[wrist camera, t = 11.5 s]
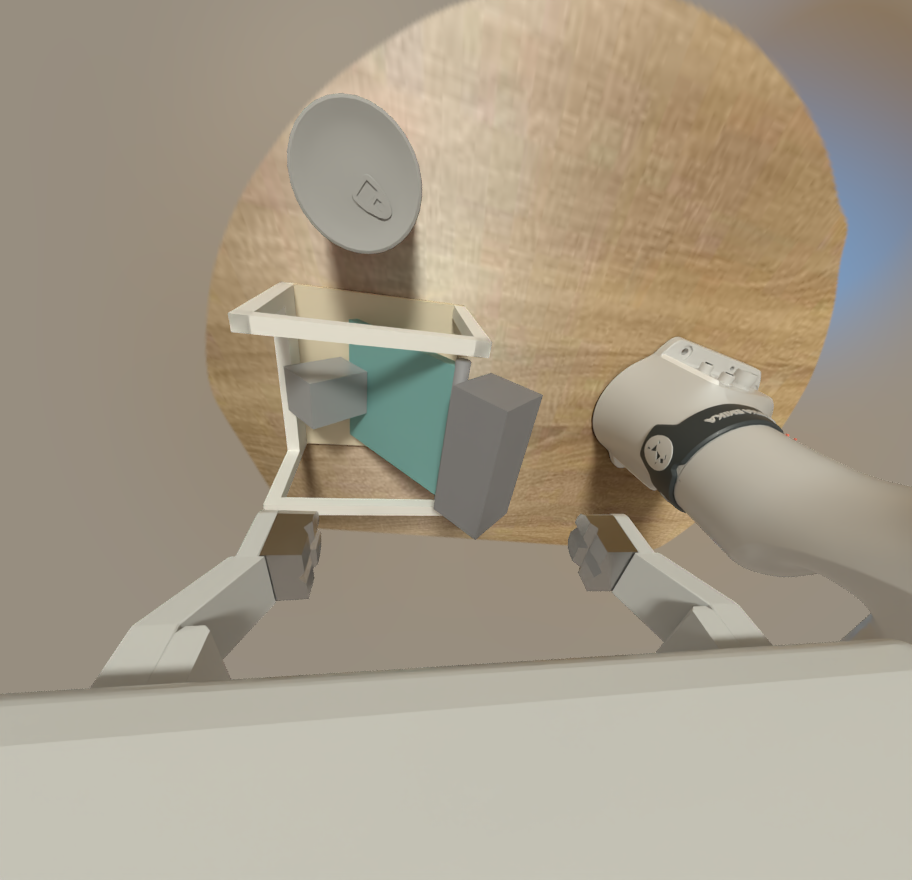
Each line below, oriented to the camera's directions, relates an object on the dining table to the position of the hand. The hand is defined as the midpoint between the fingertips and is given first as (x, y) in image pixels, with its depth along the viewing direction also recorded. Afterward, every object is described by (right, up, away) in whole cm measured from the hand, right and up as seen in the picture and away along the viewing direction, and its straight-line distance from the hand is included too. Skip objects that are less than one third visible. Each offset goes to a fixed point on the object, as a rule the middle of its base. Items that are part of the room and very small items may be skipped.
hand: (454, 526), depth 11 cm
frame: (-9, +10, +28) cm, 31 cm away
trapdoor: (-2, +5, +23) cm, 24 cm away
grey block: (-11, +9, +26) cm, 29 cm away
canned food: (-7, +24, +19) cm, 32 cm away
